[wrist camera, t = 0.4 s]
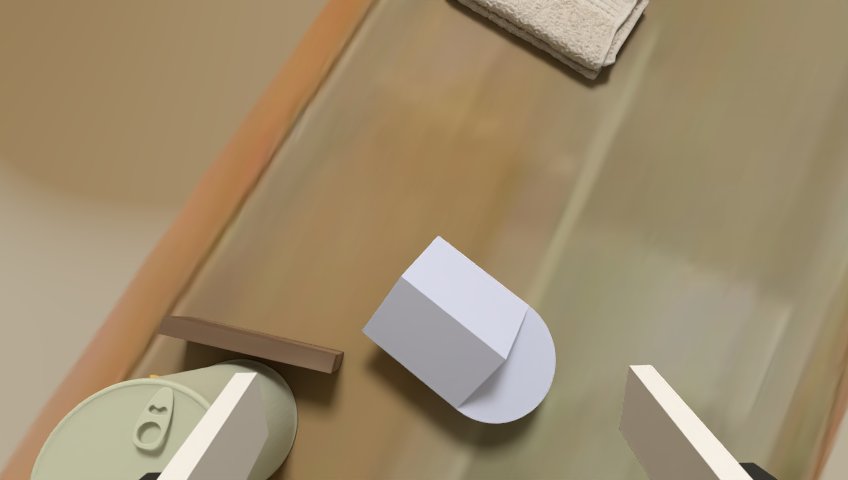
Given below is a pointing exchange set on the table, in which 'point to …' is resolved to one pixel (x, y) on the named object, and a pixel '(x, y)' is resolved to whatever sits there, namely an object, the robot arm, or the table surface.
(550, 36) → the washcloth
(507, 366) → the wedge on round base
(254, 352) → the channel
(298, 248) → the table surface
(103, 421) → the can
